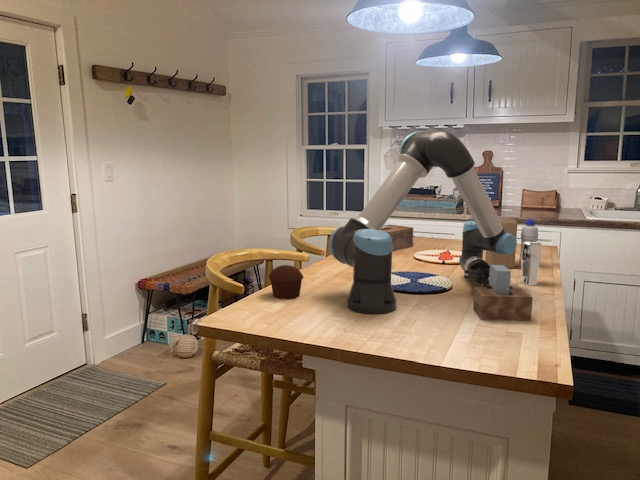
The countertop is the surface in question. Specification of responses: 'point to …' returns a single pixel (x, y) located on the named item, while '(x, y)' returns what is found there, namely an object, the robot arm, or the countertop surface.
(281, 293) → the muffin
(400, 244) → the tissue box cover
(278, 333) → the countertop surface
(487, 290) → the socket block
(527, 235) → the bottle
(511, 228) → the wooden block
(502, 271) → the peg
